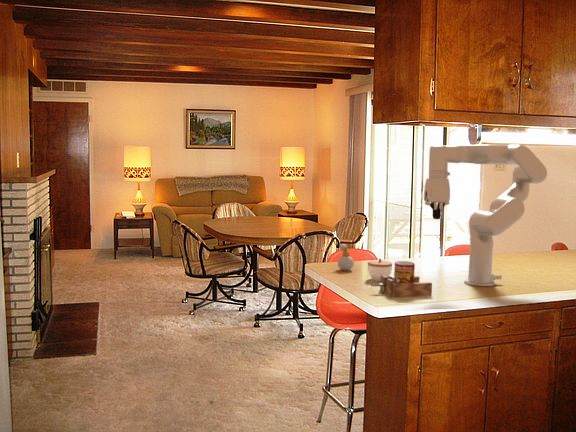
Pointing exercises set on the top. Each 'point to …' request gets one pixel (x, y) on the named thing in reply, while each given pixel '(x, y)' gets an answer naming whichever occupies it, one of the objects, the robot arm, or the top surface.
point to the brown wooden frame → (405, 288)
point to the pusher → (388, 278)
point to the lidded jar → (379, 269)
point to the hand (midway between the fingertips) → (436, 218)
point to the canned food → (404, 271)
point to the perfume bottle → (345, 259)
